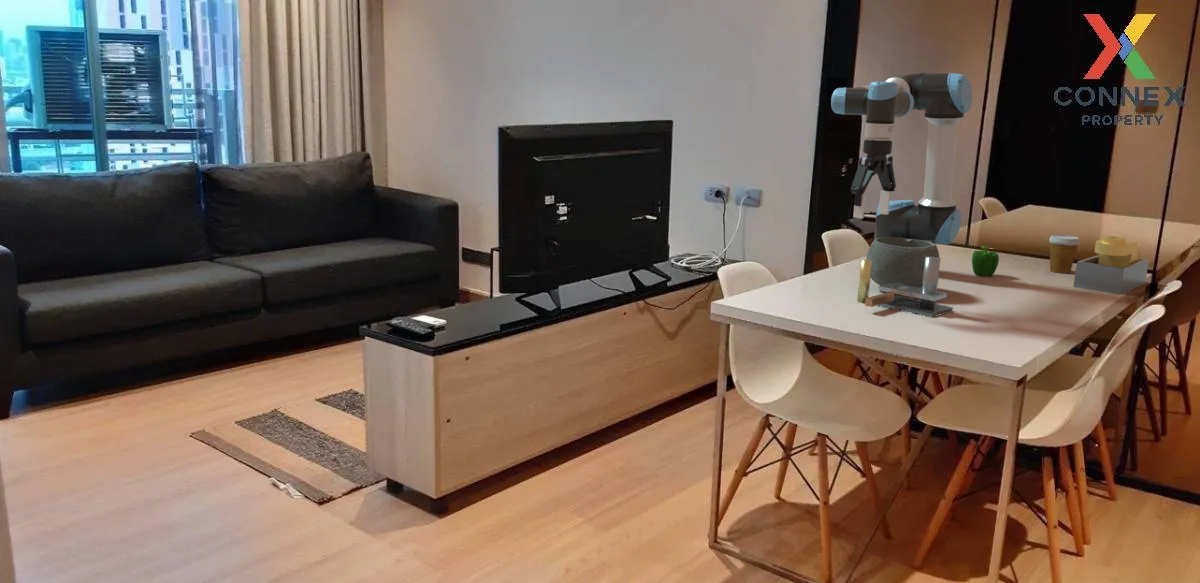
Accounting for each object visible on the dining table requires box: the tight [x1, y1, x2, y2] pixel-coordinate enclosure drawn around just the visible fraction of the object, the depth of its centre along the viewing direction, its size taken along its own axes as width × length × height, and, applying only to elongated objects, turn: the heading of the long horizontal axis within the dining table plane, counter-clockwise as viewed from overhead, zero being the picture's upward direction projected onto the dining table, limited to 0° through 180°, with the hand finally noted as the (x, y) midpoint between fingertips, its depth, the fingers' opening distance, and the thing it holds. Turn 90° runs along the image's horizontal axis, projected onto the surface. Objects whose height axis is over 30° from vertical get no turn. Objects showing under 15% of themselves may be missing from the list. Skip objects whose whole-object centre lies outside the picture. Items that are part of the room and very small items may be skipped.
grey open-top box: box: [1073, 254, 1150, 295], centre depth 297 cm, size 14×24×8 cm, turn 134°
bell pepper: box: [971, 245, 1000, 277], centre depth 307 cm, size 8×8×10 cm
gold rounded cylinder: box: [856, 259, 872, 304], centre depth 264 cm, size 3×3×12 cm
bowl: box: [865, 237, 940, 288], centre depth 280 cm, size 21×21×15 cm
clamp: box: [1094, 235, 1139, 268], centre depth 297 cm, size 20×9×16 cm, turn 134°
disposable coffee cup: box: [1048, 234, 1081, 274], centre depth 316 cm, size 10×10×12 cm
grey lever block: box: [864, 256, 954, 318], centre depth 255 cm, size 18×22×15 cm
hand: (870, 216), depth 260 cm, fingers open, 13 cm apart
